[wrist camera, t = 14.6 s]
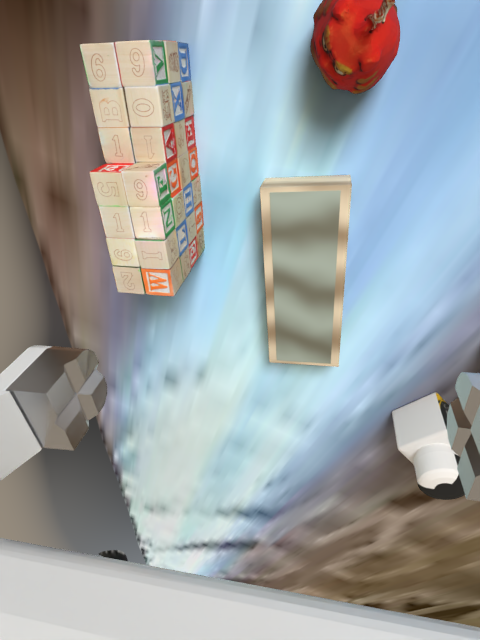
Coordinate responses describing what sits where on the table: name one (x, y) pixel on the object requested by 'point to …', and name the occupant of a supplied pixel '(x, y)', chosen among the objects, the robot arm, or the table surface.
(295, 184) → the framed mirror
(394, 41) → the red clay folk toy
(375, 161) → the table surface
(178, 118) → the stack of blocks
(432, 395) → the medicine bottle
